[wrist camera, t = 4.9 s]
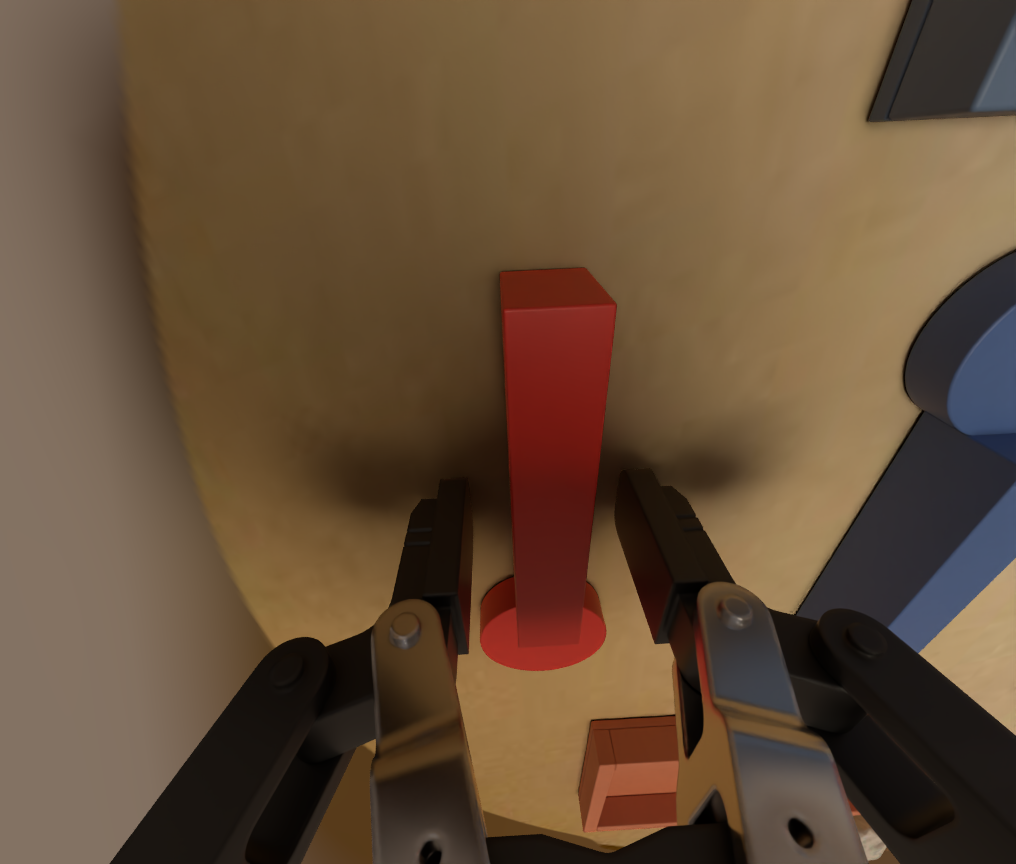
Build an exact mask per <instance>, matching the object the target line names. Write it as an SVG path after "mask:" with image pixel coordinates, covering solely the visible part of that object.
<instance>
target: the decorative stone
mask: <svg viewBox="0 0 1016 864" xmlns="http://www.w3.org/2000/svg"><path fill="white" fill-rule="evenodd" d="M853 817H854V820H855V823H856V826H857V830H858V833H859V836H860V839H861V842H862V845H863V848H864V851H865V854H866V857H867V860H875V859H878V858H879V857H880V856H881V855H882V853H883V851H884V850H885V849H886V845H885V844H884V843H883V842H882V840H881V839H880V838H879V837H878V835H877V834H876V833H875V832H874V830H873V829H872V828H871V827H870V825H869V824H868V823H867V822H866V820H865V819H864V818H863V817H862V816H861V815H855V816H853Z"/></svg>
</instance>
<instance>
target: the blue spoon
mask: <svg viewBox="0 0 1016 864" xmlns="http://www.w3.org/2000/svg"><path fill="white" fill-rule="evenodd" d="M905 384H906V389H907V392H908V394H909V396H910V398H911V399H912V401H913V402H914V403H915V404H916V405H917V406H918V407H919V408H921V409H922V410H924V413H923V414H922V416H921V417H920V419H919V421H918V422H917V424H916V425H915V427H914V429H913V430H912V432H911V433H910V435H909V436H908V438H907V440H906V441H905V443H904V444H903V446H902V448H901V449H900V451H899V452H898V454H897V456H896V457H895V459H894V460H893V462H892V463H891V465H890V467H889V468H888V470H887V471H886V473H885V475H884V476H883V478H882V479H881V481H880V483H879V484H878V486H877V487H876V489H875V490H874V492H873V494H872V495H871V497H870V498H869V500H868V502H867V503H866V505H865V506H864V508H863V510H862V511H861V513H860V514H859V516H858V517H857V519H856V521H855V522H854V524H853V525H852V527H851V529H850V530H849V532H848V533H847V535H846V537H845V538H844V540H843V541H842V543H841V544H840V546H839V548H838V549H837V551H836V552H835V554H834V556H833V557H832V559H831V560H830V562H829V564H828V565H827V567H826V568H825V570H824V571H823V573H822V575H821V576H820V578H819V579H818V581H817V583H816V584H815V586H814V587H813V589H812V591H811V592H810V594H809V595H808V597H807V598H806V600H805V602H804V603H803V605H802V606H801V608H800V610H799V611H798V613H797V614H796V616H800V617H804V618H808V619H813V620H817V621H818V620H819V619H820V618H821V616H822V615H823V614H824V613H825V612H826V611H828V610H831V609H836V608H844V609H850V610H854V611H858V612H861V613H863V614H865V615H868V616H870V617H871V618H873V619H875V620H877V621H878V622H880V623H881V624H883V625H884V626H886V627H887V628H888V629H889V630H891V631H892V632H893V633H894V634H895V635H897V636H898V637H899V638H900V639H901V640H903V641H904V642H905V643H906V644H907V645H908V646H910V647H911V648H912V649H913V650H914V651H916V652H917V653H919V652H920V651H921V650H922V649H923V648H924V647H925V646H926V645H927V644H928V643H929V642H930V641H931V640H932V639H933V638H934V637H935V636H936V635H937V634H938V633H939V632H940V631H941V630H942V629H943V628H944V627H945V626H947V625H948V624H949V623H950V622H951V621H952V620H953V619H954V618H955V617H956V616H957V615H958V614H959V613H960V612H961V611H962V610H963V609H964V608H965V607H966V606H967V605H968V604H969V603H970V602H971V601H972V600H973V599H974V598H975V597H976V596H977V595H978V594H979V593H980V592H981V591H982V590H983V589H984V588H985V587H986V586H987V585H988V584H989V583H990V582H991V581H992V580H993V579H994V578H995V577H996V576H997V575H999V574H1000V573H1001V572H1002V571H1003V570H1004V569H1005V568H1006V567H1007V566H1008V565H1009V564H1010V563H1011V562H1012V561H1013V560H1014V559H1015V558H1016V252H1014V253H1012V254H1010V255H1008V256H1006V257H1005V258H1003V259H1001V260H999V261H997V262H996V263H994V264H993V265H991V266H990V267H988V268H986V269H985V270H983V271H982V272H981V273H979V274H978V275H977V276H975V277H974V278H972V279H971V280H970V281H969V282H967V283H966V284H965V285H964V286H963V287H961V288H960V289H959V290H958V291H957V292H956V293H955V294H954V295H952V296H951V297H950V298H949V299H948V300H947V301H946V302H945V303H944V304H943V305H942V307H941V308H940V309H939V310H938V311H937V312H936V313H935V314H934V316H933V317H932V318H931V319H930V321H929V322H928V323H927V325H926V326H925V327H924V329H923V330H922V332H921V334H920V335H919V337H918V339H917V340H916V342H915V344H914V346H913V348H912V350H911V353H910V356H909V359H908V361H907V366H906V371H905Z"/></svg>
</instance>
